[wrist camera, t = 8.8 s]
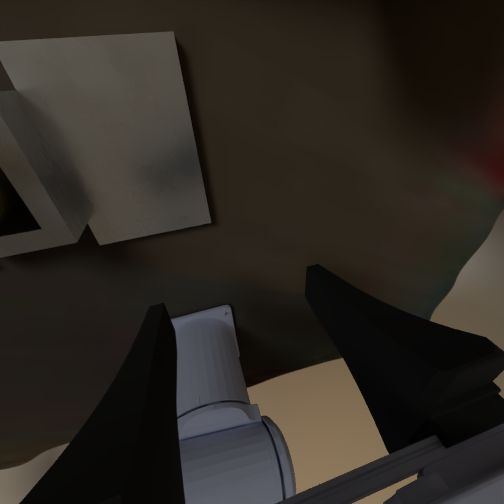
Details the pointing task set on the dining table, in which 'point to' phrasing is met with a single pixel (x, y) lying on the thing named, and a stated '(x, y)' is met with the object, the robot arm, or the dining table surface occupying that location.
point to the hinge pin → (7, 195)
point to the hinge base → (97, 141)
